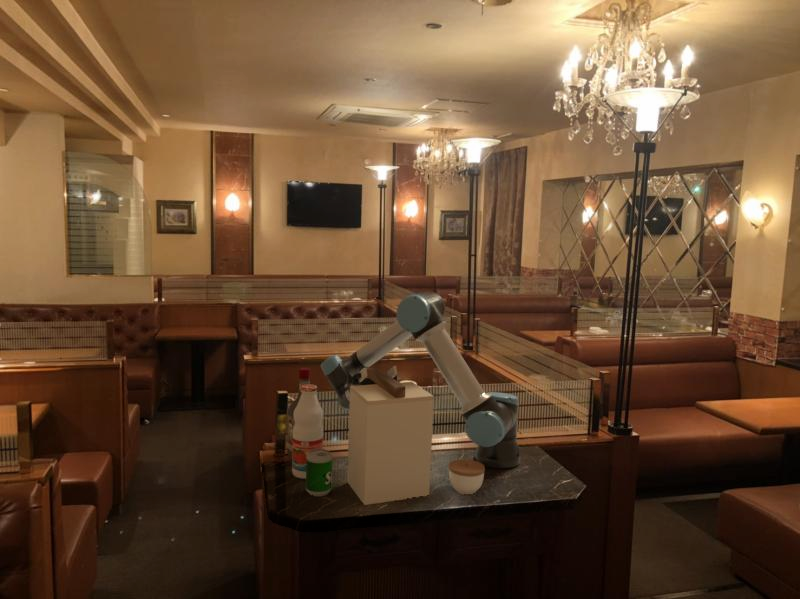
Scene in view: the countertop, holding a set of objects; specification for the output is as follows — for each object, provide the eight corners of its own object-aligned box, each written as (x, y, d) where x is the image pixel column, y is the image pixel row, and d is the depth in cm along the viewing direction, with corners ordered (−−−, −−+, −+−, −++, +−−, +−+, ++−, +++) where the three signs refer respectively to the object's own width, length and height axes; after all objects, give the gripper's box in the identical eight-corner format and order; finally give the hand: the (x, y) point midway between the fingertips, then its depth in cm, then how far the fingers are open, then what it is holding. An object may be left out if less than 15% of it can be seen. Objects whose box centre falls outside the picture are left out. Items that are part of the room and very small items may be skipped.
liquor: (309, 449, 213) (311, 364, 209) (321, 458, 206) (323, 370, 202) (284, 454, 208) (286, 367, 204) (295, 463, 201) (297, 373, 197)
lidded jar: (482, 484, 190) (484, 455, 189) (484, 499, 180) (485, 468, 178) (447, 481, 191) (449, 452, 190) (447, 496, 181) (448, 466, 179)
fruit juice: (325, 468, 197) (327, 383, 194) (317, 480, 188) (319, 391, 184) (297, 466, 199) (299, 381, 195) (287, 477, 189) (289, 388, 186)
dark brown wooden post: (376, 376, 197) (376, 367, 196) (405, 397, 175) (405, 386, 174) (367, 376, 196) (367, 367, 195) (395, 397, 174) (395, 387, 173)
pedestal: (407, 474, 195) (411, 381, 192) (429, 495, 181) (433, 396, 177) (347, 482, 188) (350, 386, 184) (364, 505, 173) (367, 401, 169)
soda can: (320, 500, 175) (321, 459, 174) (300, 493, 179) (301, 453, 178) (336, 490, 182) (337, 451, 180) (316, 484, 186) (317, 445, 184)
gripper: (391, 398, 211) (415, 380, 191) (329, 403, 202) (348, 385, 183) (387, 377, 213) (411, 357, 194) (326, 381, 205) (345, 360, 186)
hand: (380, 371), depth 188 cm, fingers open, 9 cm apart
